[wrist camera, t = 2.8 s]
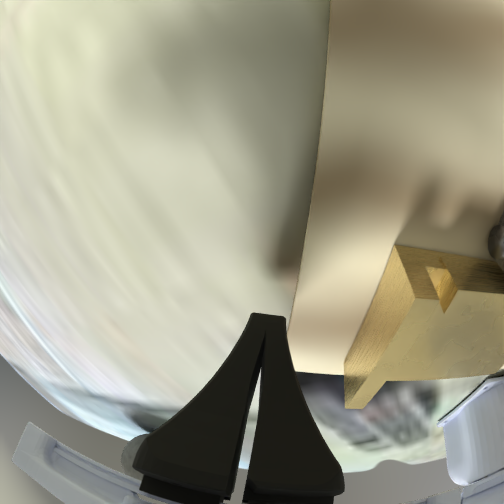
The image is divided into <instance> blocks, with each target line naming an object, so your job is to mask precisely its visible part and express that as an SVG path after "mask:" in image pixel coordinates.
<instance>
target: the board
mask: <svg viewBox="0 0 504 504" xmlns="http://www.w3.org/2000/svg"><path fill="white" fill-rule="evenodd" d="M503 211H504V0H330V18H329V37H328V52H327V66H326V78H325V89H324V100H323V109H322V119H321V128H320V137H319V145H318V153H317V161H316V168H315V176H314V183H313V190H312V197H311V203H310V210H309V217H308V223H307V229H306V235H305V241H304V247H303V253H302V259H301V264H300V270H299V275H298V281H297V286H296V291H295V296H294V301H293V306H292V311H291V316H290V321H289V326H288V331H287V338H288V344H289V349H290V354H291V358H292V362H293V366H294V369H295V371H300V372H311V373H323V374H337V375H344V360H345V358H346V356H347V354H348V352H349V350H350V348H351V346H352V344H353V342H354V340H355V338H356V336H357V334H358V332H359V330H360V328H361V326H362V323H363V321H364V319H365V317H366V315H367V312H368V310H369V308H370V306H371V303H372V301H373V299H374V296H375V294H376V291H377V289H378V286H379V284H380V282H381V279H382V276H383V274H384V271H385V269H386V266H387V263H388V261H389V258H390V255H391V252H392V250H393V247H394V245H400V246H407V247H413V248H419V249H426V250H432V251H438V252H444V253H450V254H456V255H462V256H467V257H473V258H479V259H484V260H490V261H495V262H496V260H495V259H494V258H492V257H491V255H490V254H489V251H488V237H489V234H490V231H491V230H492V228H493V227H494V226H496V225H498V223H499V221H500V218H501V216H502V213H503ZM500 369H504V365H503V366H502V367H501V368H500Z"/></svg>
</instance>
